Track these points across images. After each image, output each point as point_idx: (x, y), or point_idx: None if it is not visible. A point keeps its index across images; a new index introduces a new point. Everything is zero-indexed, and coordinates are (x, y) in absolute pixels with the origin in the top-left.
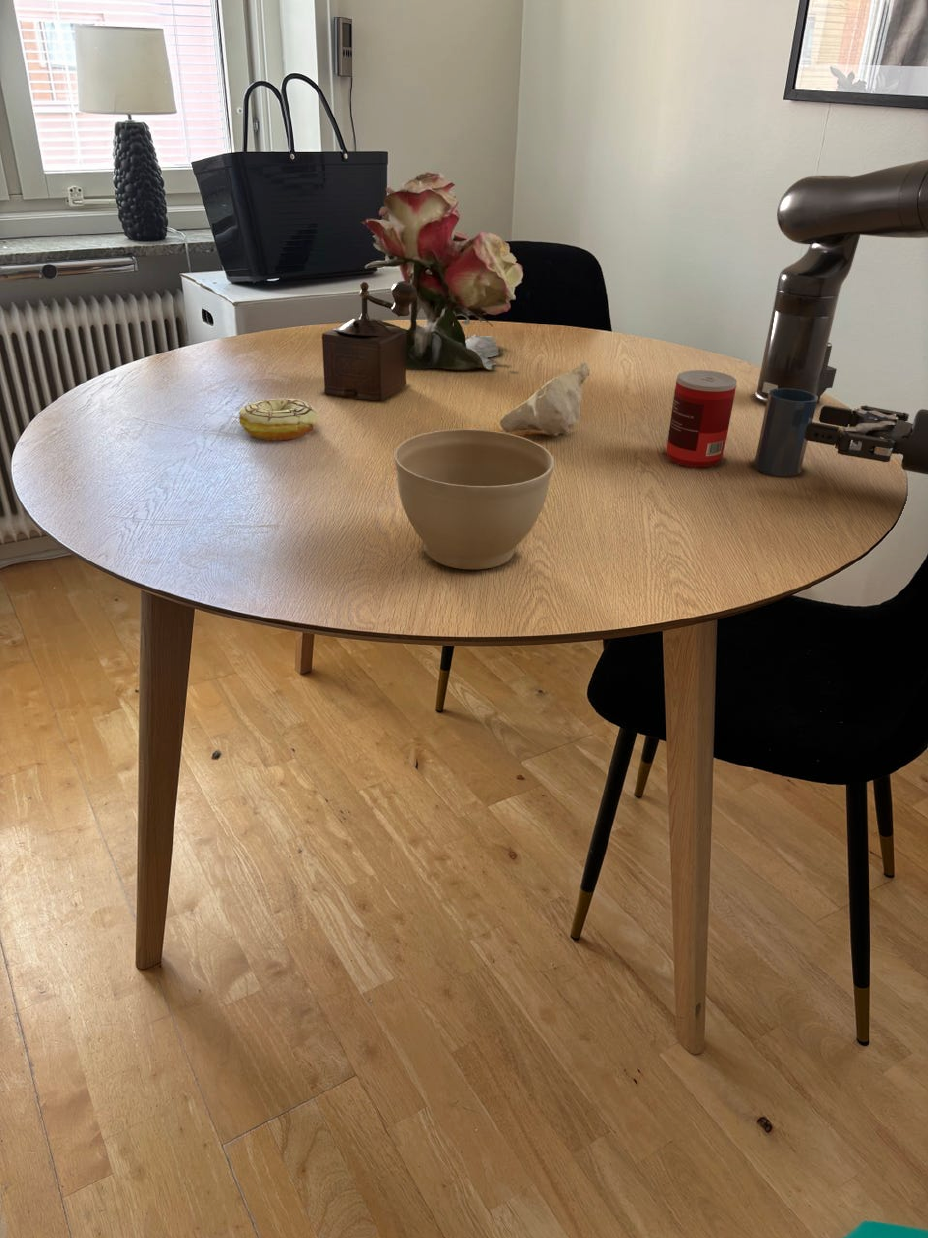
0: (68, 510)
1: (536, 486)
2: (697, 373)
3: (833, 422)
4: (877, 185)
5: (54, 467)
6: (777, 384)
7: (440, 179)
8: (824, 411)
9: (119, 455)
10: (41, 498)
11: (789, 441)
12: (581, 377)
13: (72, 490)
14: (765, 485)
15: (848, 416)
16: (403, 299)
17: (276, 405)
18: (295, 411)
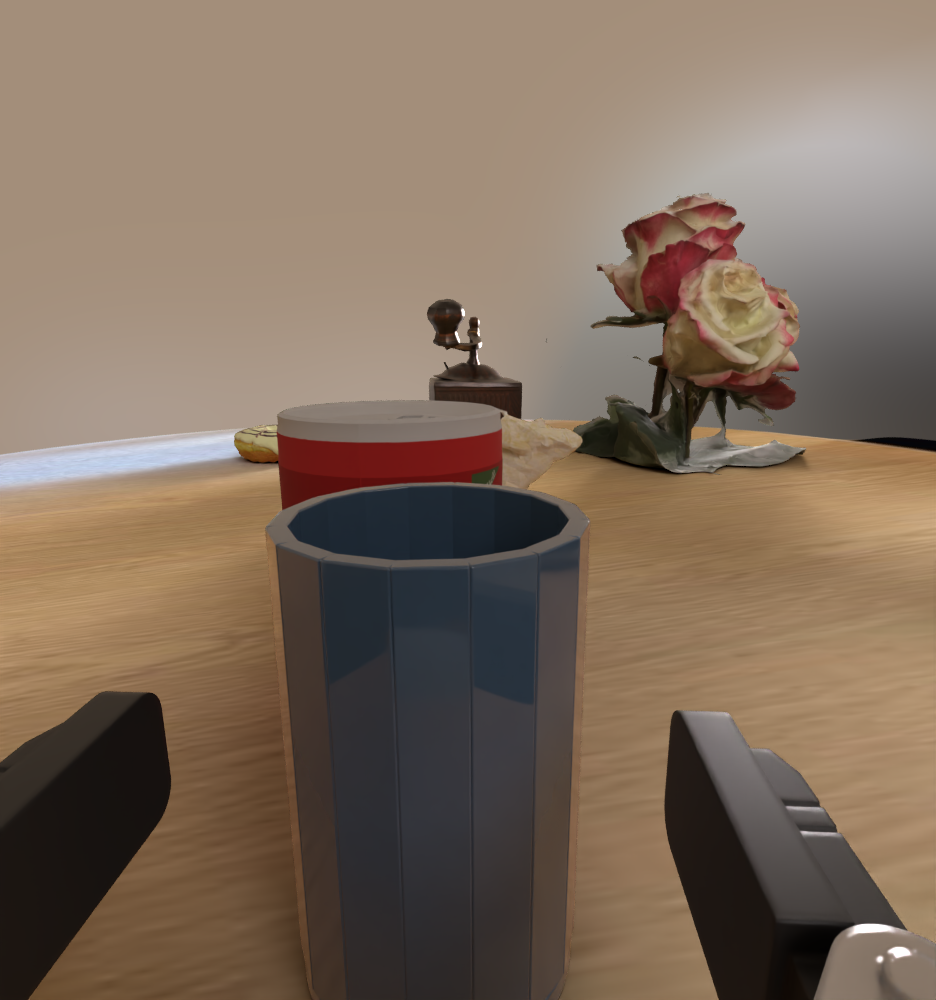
0: (27, 454)
1: None
2: (458, 410)
3: (702, 915)
4: None
5: (138, 440)
6: None
7: (696, 200)
8: (674, 757)
9: (176, 444)
10: (59, 448)
11: (289, 785)
12: None
13: (79, 449)
14: (141, 926)
15: (757, 969)
16: (431, 320)
17: None
18: (264, 432)
